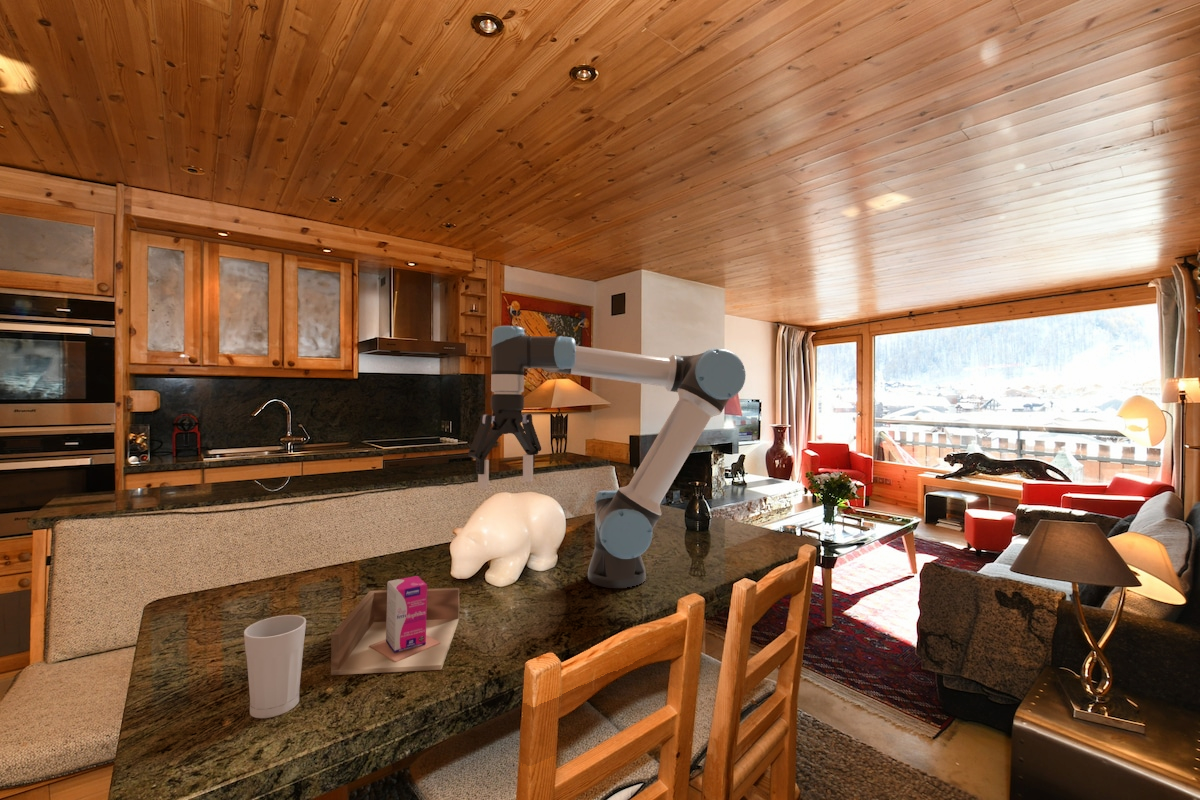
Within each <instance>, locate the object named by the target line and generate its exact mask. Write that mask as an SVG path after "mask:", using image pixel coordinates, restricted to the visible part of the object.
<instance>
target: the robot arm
mask: <svg viewBox="0 0 1200 800" xmlns="http://www.w3.org/2000/svg"><path fill="white" fill-rule="evenodd" d="M491 336H492V337H491V345H490V347H491V351H490V352H491V354H490V355H491V358H490V359H491V360H490V361H491V365H490V366H491V368H490V369H491V372H490V373H491V374H490V375H491V376H490V377H491V381H490V383H491V384H490V387H491V388H490V391H491V392H492V393H493V394H491V395H490V409H491V410H492V414H481V415H480V419H479V425H478V428H477V431H476V433H475V436H474V438H473V441H472V443H471V446H470V448H469V451H468V453H467V454H468V455H467V456H468V457H470V458H472V459H474V460H475V474H477V489H479V490H485V491H486V490H489V487H490V485H489V482H490V481H489V480H490V459H486V458H487V457H488V455H490V452H491V451H492V449H493V448H494V446H495V445H496V443H497V441H498V440H499V438H500V437H501V436H503V435H508V434H512V435H514V437H515V439H517V442H518V443H519V444H520V446H521V448H522V449H523V451H524V452H525V454H523V455H522V482H524V483H525V482H526V483H533V482H534V468H535V462H536V461H535V458H536V457H535V456H537V455H538V454H539V452H541V451H542V446H541V444H540V441H539V438H538V434H537V431H536V429H535V426H534V422H533V415H532V414H531V413H522V411H523V410H524V407H525V403H524V402H525V400H524V399H525V396H524V395H523V394H522V393H524V392H525V369H542V370H543V371H544V372H546V373H552V374H554V373H555V374H556V373H559V374H566V375H575V376H583V377H590V378H597V379H598V378H599V379H605V380H612V381H620V382H621V381H622V382H628V383H635V384H641V385H642V384H643V385H648V386H649V385H650V386H656V387H657V386H659V387H664V388H665V389H666V390H667V392H672V393H677V394H678V401H677V402H676V404H675V405H674V407H673V409H672V411H671V412H670V414H669V416H668V417H667V419H666V421H665V422H664V424H663V426H662V427H661V430H660V431H659V432H658V434H657V436H656V438H655V439H654V441H653V442H652V444H651V446H650V447H649V450H648V451H647V453H646V455H645V456H644V458H643V459H642V461H641V463H640V465H639V467H638V468H637V470H636V471H635V473H634V474H633V476H632V478H631V480H630V482H629V483H628V484H627V485H626V486H622V487H618V489H617V490H614V489H613V490H599V491H597V492H596V494H595V500H594V504H595V505H594V507H595V508H594V509H595V510H594V513H595V514H594V517H595V518H594V549H593V553H592V556H591V559H590V561H589V566H588V569H587V579H588V582H589V583H591V584H593V585H595V586H599V587H602V588H608V589H628V588H627V587H630V588H633V587H632V586H635V587H637V586H636V585H638V586H640V585H639V584H641V583H642V584H644V583H645V582H646V580H645V579H647V578H646V573H647V571H646V567H645V564H644V561H643V558H642V555H643V554H644V553H645V552H646V551H647V550H648V549H649V547H650V546H651V543H652V539H653V536H654V535H653V533H654V532H653V530H654V528H655V526H656V525H657V524H658V521H659V519H660V517H661V516H662V511H661V507H660V505H661V503H662V501H663V499H664V498H665V496H666V494H667V493H668V492H669V489H670V488H671V486H672V484H673V483H674V480H676V477H677V476H678V474H679V472H680V471H681V469H682V467H683V465H684V463H685V462H686V460H687V459H688V457H689V456H690V453H692V450H693V448H694V447H695V445H696V444H697V442H698V440H699V438H700V436H701V435H702V433H703V431H704V430H705V428H706V427H707V424H708V423H709V422H710V420H711V418H713V417H715V416H719V415H721V414H722V412H723V410H724V409H725V407H726V405H727V404H728V402H729V400H730V399H732V398H734V397H735V396H737V395H738V394H739V393H740V391H741V390H742V389H743V387H744V385H745V383H746V375H747V374H746V369H745V365H744V364H743V361H742V359H740V357H739V356H738V355H737V354H736V353H734V352H733V351H731V350H727V349H726V348H725V349H724V348H711V349H708V350H706V351H704V352H702V353H700V354H692V355H677V354H672V355H671V356H669V357H662V356H656V355H649V354H648V355H647V354H639V353H634V352H633V353H632V352H625V351H617V350H609V349H603V348H595V347H587V346H579V345H576V340H575V338H573V337H572V336H571V337H569V336H562V335H559V336H543V335H542V336H532V335H526V333H525V329H524V327H521V326H515V325H513V326H512V325H499V326H495V327H494V328H493V330H492V335H491ZM644 581H645V582H644ZM643 582H644V583H643ZM642 584H641V585H642Z"/></svg>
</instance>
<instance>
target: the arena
mask: <svg viewBox="0 0 1200 800" xmlns="http://www.w3.org/2000/svg"><path fill="white" fill-rule="evenodd" d="M386 618H387V590H386V589H385V590H383V589H382V590H381V589H380V590H369V591H368V592H367V594H366V595H365V596H363V598H362V599H361V600H360V601H359V602H358V604H357V605H356V606H355V607H354V608H353V609H352V610H351V612H350V613H349V614H348V615H347V616H346V617H345V618H344V620H343V621H342V622H341V623H340V624H339V625H338V627H337V628H336V629H335V630H334V631H333V632H332V634H331V635H330V636H331V638H330V639H331V640H330V641H331V642H330V648H331V649H330V653H331V654H330V657H331V658H330V676H342V675H344V676H345V675H358V674H359V675H362V674H374V673H375V674H380V673H399V672H401V673H402V672H421V671H422V672H423V671H437V670H439V671H440V670H442V669H443V667H444V663H445V661H446V658H447V656H448V655H447V654H448V653H449V649H450V647H451V644H452V641H453V638H454V635H455V633H456V629H457V627H458V625H459V622H460V587H445V588H442V587H441V588H427V613H426V644H425V645H423V646H418V647H414V648H410V649H407V650H403V651H400V652H397V653H394V652H393V651H392V649H391V648H390V646H389V645H388V644H387V642H386Z"/></svg>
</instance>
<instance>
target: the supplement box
mask: <svg viewBox="0 0 1200 800" xmlns="http://www.w3.org/2000/svg"><path fill="white" fill-rule="evenodd" d="M386 583H387V584H386V585H387V586H386V589H387V618H386V642H387V644H388V645H389V646H390V648H391V649H392V651H393V652H394V653H397V652H400V651H403V650H407V649H410V648H414V647H418V646H423V645H425V644H426V613H427V589H428V583H426V582H425V581H424V580H422V579H421V578H420V576H419V575H414V576H409V577H404V578H403V577H402V578H397V579H393V580H392V579H391V580H388V581H387V582H386Z"/></svg>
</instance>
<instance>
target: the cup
mask: <svg viewBox="0 0 1200 800" xmlns="http://www.w3.org/2000/svg"><path fill="white" fill-rule="evenodd" d="M306 626H307V619H306V618H305V617H304V616H302V615H297V614H284V615H277V616H272V617H267V618H264V619H261V620H258V621H256V622H254V623H252V624H250V625H249V626H247V627H246V628H245V629H244V630H243V637H244V639H243V640H244V649H245V650H244V651H245V656H246V667H247V677H248V689H249V715H250V716H251V717H253V718H256V719H268V718H273V717H277V716H280V715H283V714H285V713H287V712H289V711H290V710H292V709H294V708H295V707H296V706H297V705H298V704H299V702H300V688H301V686H300V685H301V677H302V676H301V675H302V674H301V673H302V667H303V665H302V664H303V655H304V654H303V653H304V643H305V636H306V635H305V634H306Z"/></svg>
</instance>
